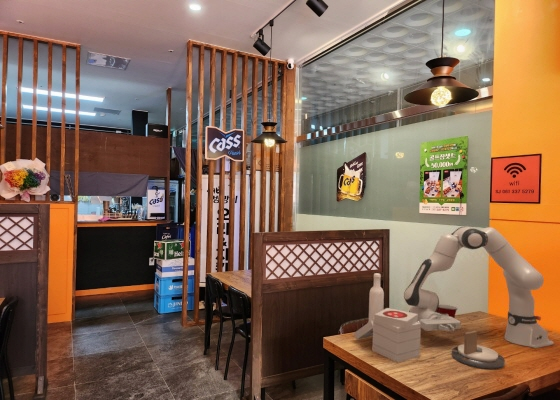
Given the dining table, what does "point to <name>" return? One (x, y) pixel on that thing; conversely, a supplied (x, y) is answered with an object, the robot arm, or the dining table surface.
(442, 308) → the plastic cup
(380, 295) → the bottle
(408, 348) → the pizza boxes
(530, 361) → the dining table surface
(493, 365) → the dial housing
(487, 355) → the dial
